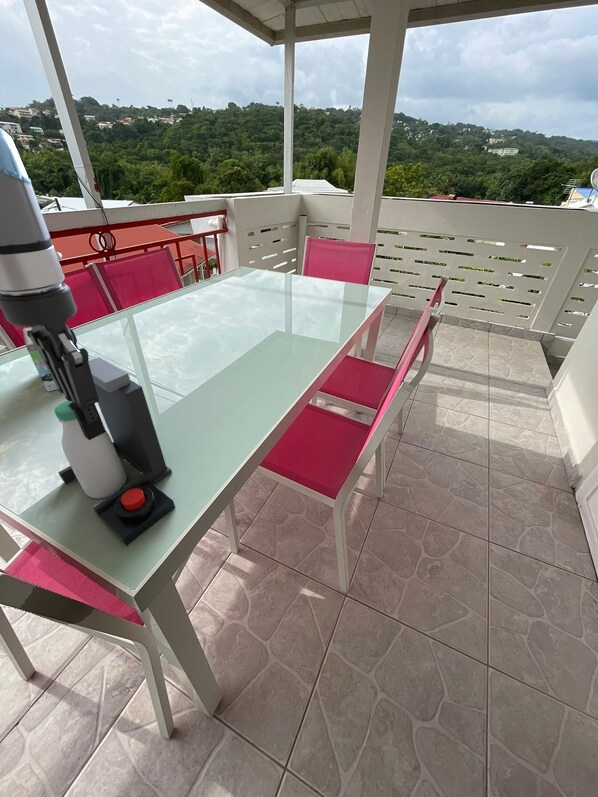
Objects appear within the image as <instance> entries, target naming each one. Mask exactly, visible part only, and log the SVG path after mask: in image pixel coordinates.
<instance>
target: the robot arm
mask: <svg viewBox="0 0 598 797" xmlns="http://www.w3.org/2000/svg"><path fill="white" fill-rule="evenodd" d="M62 260H63V256H62V254H61V253H60V252H58V251H56V250H55V247H54V243H53V241H52V238H51V235H50V232H49V229H48V228H47V224H46V221H45V218H44V215H43V213H42V210H41V207H40V204H39V201H38V199H37V195H36V193H35V191H34V188H33V185H32V180H31V178H29V175H28V174H27V171H26V168H25V166H24V164H23V162H22V159H21V157H20V154H19V151H18V149H17V147H16V145H15V141H14V140H13V139H12V137H11V135H9V134H8V133H7V132H6V131H5V130H4V129H2V128H1V127H0V310H1V312H2V314H3V315H4V318H5V320H6V321H7V322H8V323H9V324H11V325H12V326H16V327H19V328H20V327H22V328H30V327H31V329H32V330H28V331H27V335H28V337H30V339H31V340H32V342H33V344H34V345H35V347H36V348H37V350H38V352H39V354H40V356H41V358H42V360H43V361H44V363H45V365H46V367H47V369H48V371H49V372H50V374H51V376H52V378H53V380H54V382H55V384H56V385H57V387H58V389H57V390H58V392H59V393H60V394H61V395H64V397H65V401H67V400H68V401H69V402H70V401H72V403H70V405H68V406H69V408H70V409H71V410H73V412H74V414H75V416H76V419H77V421H78V423H79V425H80V427H81V429H82V432H83V434H84V436H85V437H86V438H87V439H88V440H91V439H93V438H95V437H97V436H99V435H101V434H103V433H105V432H106V431H107V430H106V428H105V426H104V422H103V421H102V418H101V416H100V413H99V411H98V408H97V405H96V403H97V402H99V398H98V395H97V391H96V387H95V384H94V380H93V377H92V373H91V370H90V366H89V361H90V359H89V351H88V350H87V349H86V348H85V347H81V348H79V347H78V345H77V344H78V343H77V342H78V339H77V337H76V333H75V332H74V330H73V329H72V328H69V326H68V325H67V322H68V320H70V318H73V317H74V316H75V315H76V314H77V311H78V307H77V304H76V302H75V299H74V296H73V294H72V291H71V288H70V286H69V285H68V284H66V283H64V280H65V278H66V275H65V273H64V271H63V268H62V265H61V264H60V261H62ZM97 404H98V403H97Z"/></svg>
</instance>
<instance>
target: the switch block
mask: <svg viewBox="0 0 598 797" xmlns="http://www.w3.org/2000/svg"><path fill="white" fill-rule="evenodd" d="M136 488H137V489H140V490H142V492H143V494H144V497H145V502H144V504H143V505H142V506H141V507H140V508H139V509H136V510H133V511H128V510H126V509H125V508H124V506H123V504H122V502H121V498H122V496H123V494H124V493H125V492H124V493H123V494H121V495H120V496H119V497H118V499H117V500H116V502H115V504H114V505H112V506H111V507H109V508H108V509H106V510H105V511H103V512H102V513H101V514H99V516H100V518H101V520H100V521H101V522H102V523H103V524H104V525H105V527H107V528H108V530H109V531H111V532H112V534H114V536H115V537H116V538H117V539H118V540H119V541H120V542H121V543H122V544H123V545H124V546H125V547H128V546H129V545H130V544H132V543H133V542H134V541H135V540H137V539H138V538H139V537H140V536H142V535H143V534H144V533H146V532H147V531H148V530H149V529H151V528H152V527H153V526H154V525H156V524H157V523H159V521H160V520H162V519H163V518H165V516H167V515H168V514H169V513H171V512H172V511H174V509H176V505H175V502H174V499H172V498H171V497H170V496H168V495H167V494H166V493H164V492H163V491H162V490H161V489H160V488H159V487H157V486H156V484H152V483H151V482H150V481H147V482H146V483H144V484H143V485H141V486H140V487H136ZM132 489H135V488H132ZM129 490H131V489H129ZM127 491H128V490H127ZM127 491H126V492H127Z"/></svg>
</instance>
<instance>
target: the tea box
mask: <svg viewBox="0 0 598 797" xmlns="http://www.w3.org/2000/svg"><path fill="white" fill-rule="evenodd" d="M28 330H32V329H31V327H24V328H22V333H23V338H24V344H25V347H26V350H27V352H28V354H29V356H30V359H31V360H32V362H33V363H34V366H35V368H36V371H37V373H38V375H39V377H40V379H41V381H42V383H43V385H44V387H45V390H46V391H47V392H52V391H53V392H54V391H56V390H58V387H57V385H56V384H55V382H54V380H53V378H52V376H51V374H50V372H49V371H48V369H47V367H46V365H45V363H44V361H43V360H42V358H41V356H40V354H39V352H38V350H37V348H36V347H35V345H34V344H33V342H32V340H31V339H30V337H28V335H27V331H28Z"/></svg>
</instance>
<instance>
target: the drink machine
mask: <svg viewBox="0 0 598 797" xmlns="http://www.w3.org/2000/svg"><path fill="white" fill-rule="evenodd" d="M89 366H90V370H91V373H92V377H93V380H94V384H95V387H96V391H97V395H98V398H99V402H97V405H98V408H99V410H100V412H101V415H102V417H103V419H104V422H105V424H106V427H107V429H108V432H109V434H110V438H111V440H112V443H113V445H114V447H115V450H116V452H117V454H118V457H119V458H121V459H123V460H124V461H125V462H127V463H128V464H129V465H130V466H132V468H134V469H135V470H136V471H138V472H139V473H141V474H142V475H140V476H139V477H137V478H136V479H133V481H131V482H130V483H128V484H126V485H124V486H123V487H122V488H121V489H120V490H118V491H117V492H116V493H114V494H112V495H110V496H108V497H106V499H104V500H102V501H100V502H99V503H98V504H96V505H94V506H93V507H92V509H93V510H94V512H95V515H96V516H97V518H98V519H99V520H100V521H102V520H101V518H100V516H99V514H101V513H102V512H103V511H105V510H106V509H108V508H109V507H111V506H112V505H114V504H115V502H116V500H117V499H118V497H119V496H120V495H121V494H123V493H124V492H126V491H127V490H129V489H132V488H136V487H140V486H141V485H143V484H144V483H146V482H147V481H150V482H151V483H152V484H153V485H158V484H159V483H160V482H161V481H163V480H164V479H166V478H167V477H168V476H170V475H171V474H173V472H172V469H171V468H170V467H169V466H167V464H166V460H165V457H164V454H163V451H162V448H161V444H160V441H159V437H158V435H157V432H156V428H155V425H154V422H153V418H152V415H151V412H150V409H149V405H148V402H147V399H146V396H145V392H144V389H143V386H142V385H140V384H138V383H136V382H135V381H133V380H131V378H130V375H129V373H128V372H127V371H125V370H123V369H121V368H119V367H117V366H116V365H114V364H112V363H110V362H108V361H107V360H105V359H103V358H101V357H100V356H99V357H96V358H93V359H89ZM58 475H59V477H60V478H61V480H62V481H63V483H64V484H65V485H68V484H70V483H71V482H73V481H75V480H76V479H77V477H76V475H75V473H74V472H73V470H72V468H71V466H70V465H69V466H67V467H65V468H64V469H62V470H60V471H58Z"/></svg>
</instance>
